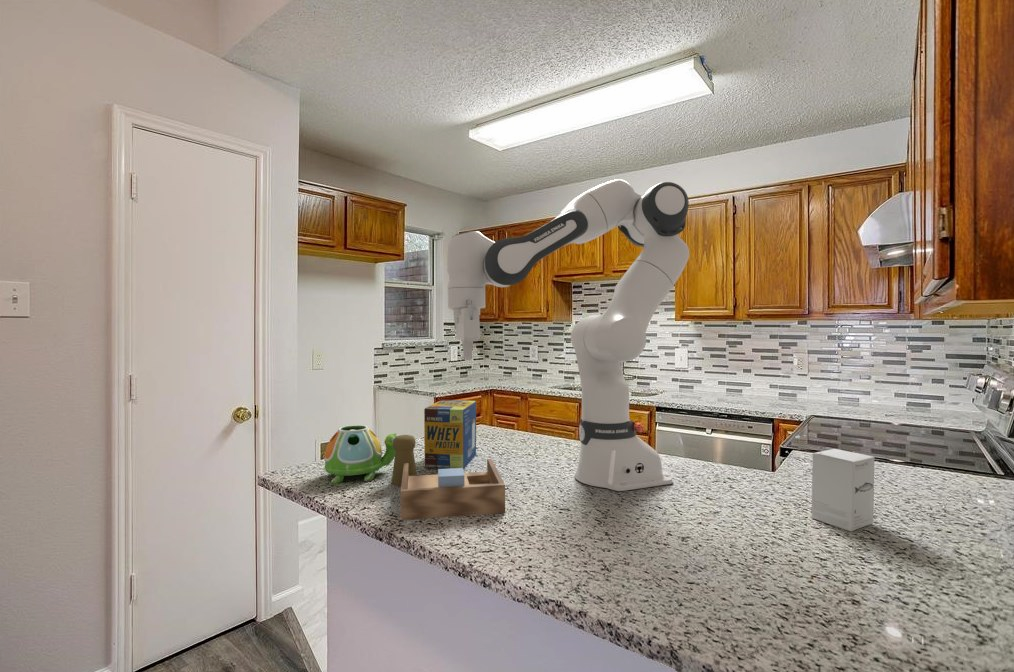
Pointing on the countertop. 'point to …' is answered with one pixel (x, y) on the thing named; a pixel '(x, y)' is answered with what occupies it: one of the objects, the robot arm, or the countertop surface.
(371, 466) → the turtle holder
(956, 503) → the countertop surface
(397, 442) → the cork
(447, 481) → the slate block
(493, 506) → the tray
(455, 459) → the protein box
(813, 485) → the supplement box
